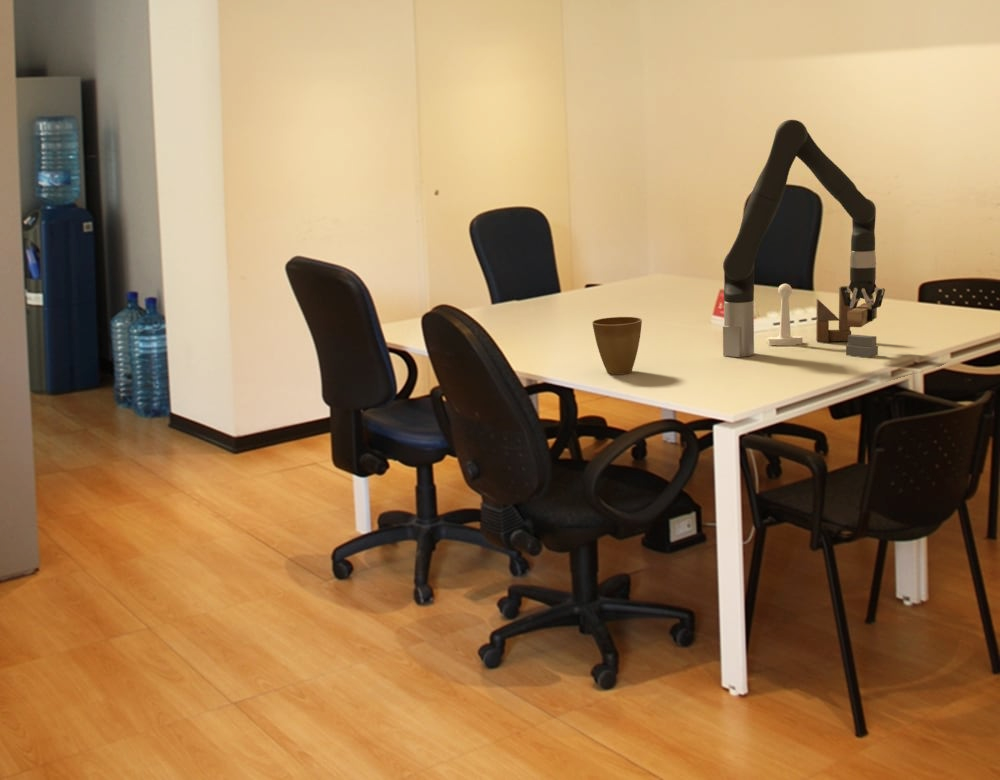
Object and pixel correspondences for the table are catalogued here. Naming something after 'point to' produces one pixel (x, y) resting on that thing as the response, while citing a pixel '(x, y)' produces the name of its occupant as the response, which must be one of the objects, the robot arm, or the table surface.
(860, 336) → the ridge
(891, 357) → the table surface
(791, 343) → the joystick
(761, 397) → the table surface
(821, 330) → the brown rod with wedge
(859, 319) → the walnut bar
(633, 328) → the plant pot
